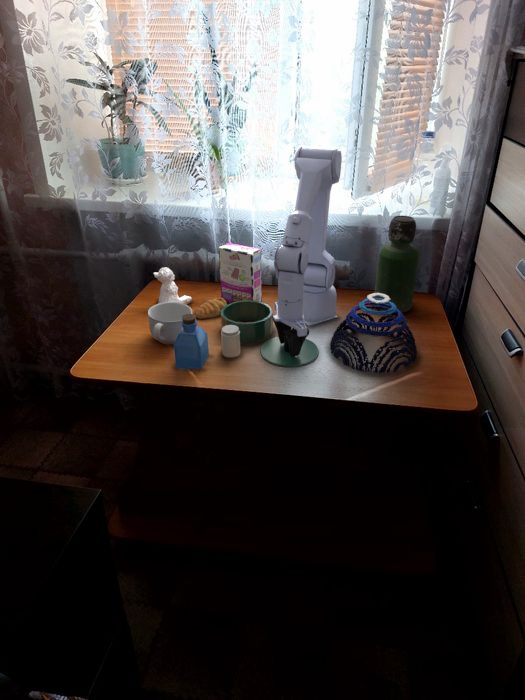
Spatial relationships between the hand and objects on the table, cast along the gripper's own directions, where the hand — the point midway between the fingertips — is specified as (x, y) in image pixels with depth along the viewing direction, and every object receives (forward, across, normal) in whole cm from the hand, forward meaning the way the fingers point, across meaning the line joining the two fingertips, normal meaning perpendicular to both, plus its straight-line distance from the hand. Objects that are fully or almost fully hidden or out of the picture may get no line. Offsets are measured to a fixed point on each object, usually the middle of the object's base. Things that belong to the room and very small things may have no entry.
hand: (289, 348), depth 128 cm
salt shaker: (+1, -5, -13) cm, 14 cm away
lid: (+1, 0, 0) cm, 1 cm away
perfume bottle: (+2, -5, -23) cm, 23 cm away
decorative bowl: (+2, +6, +19) cm, 20 cm away
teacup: (+2, -16, -26) cm, 30 cm away
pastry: (+2, -27, -11) cm, 29 cm away
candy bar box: (+2, -31, -2) cm, 31 cm away
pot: (+1, -14, -6) cm, 15 cm away
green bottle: (+2, -13, +37) cm, 39 cm away
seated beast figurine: (+2, -35, -21) cm, 41 cm away
